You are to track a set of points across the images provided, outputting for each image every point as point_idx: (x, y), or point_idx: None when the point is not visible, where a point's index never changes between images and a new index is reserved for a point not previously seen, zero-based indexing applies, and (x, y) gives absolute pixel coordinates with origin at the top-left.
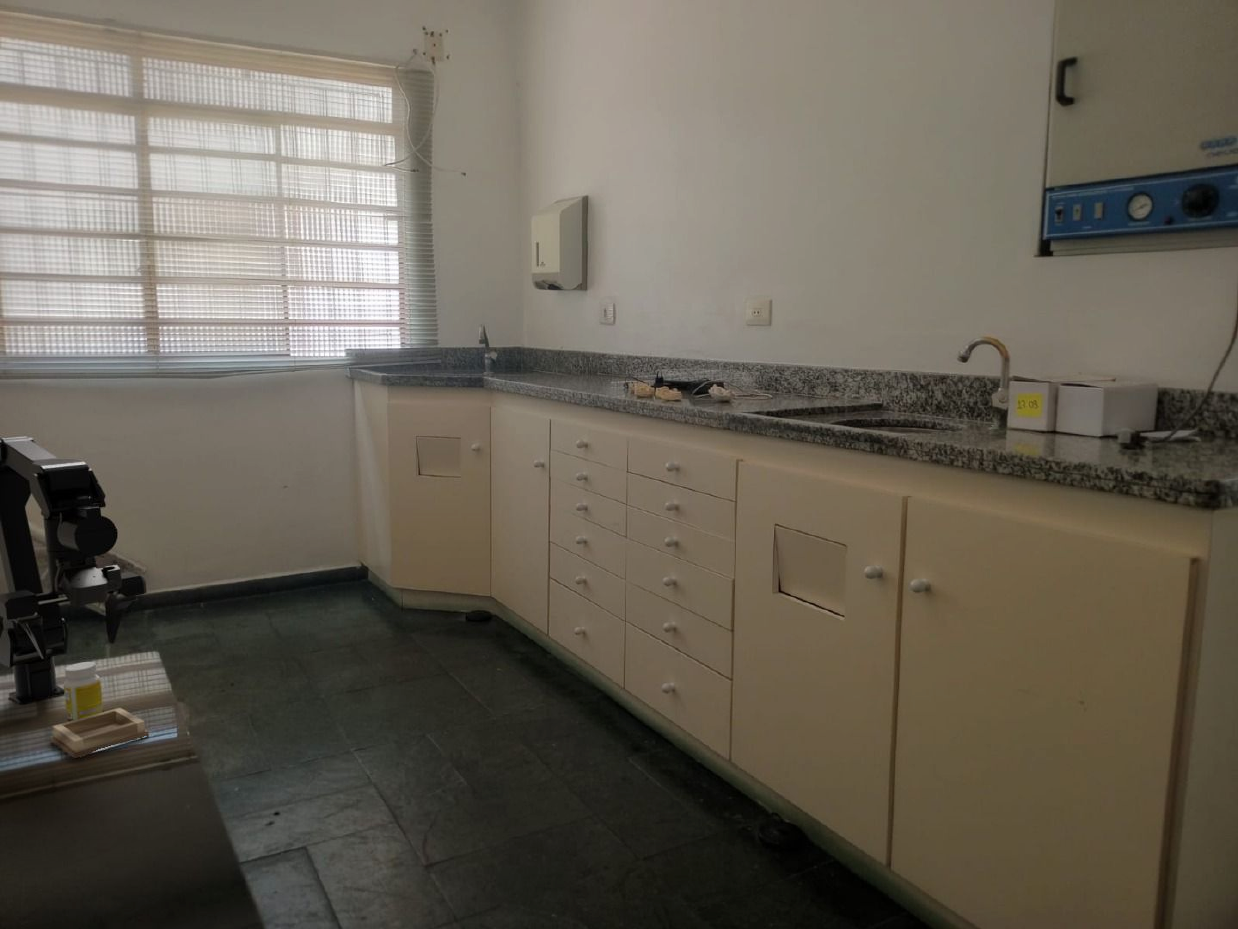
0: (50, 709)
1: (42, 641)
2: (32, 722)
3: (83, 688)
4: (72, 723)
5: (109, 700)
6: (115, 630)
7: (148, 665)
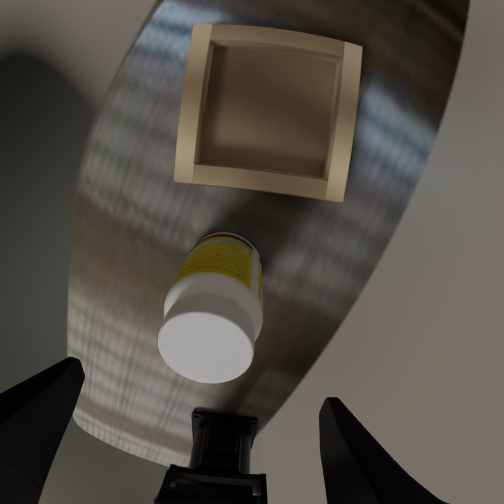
0: None
1: (363, 454)
2: (290, 344)
3: (229, 272)
4: (304, 178)
5: (149, 332)
6: (36, 382)
7: None
